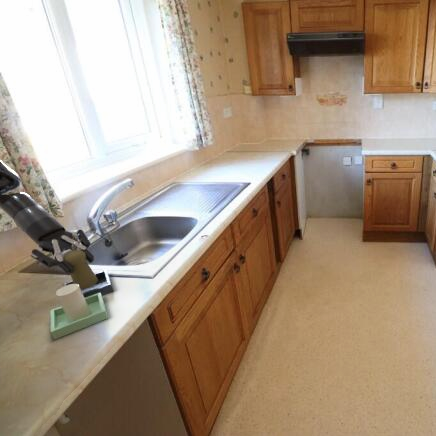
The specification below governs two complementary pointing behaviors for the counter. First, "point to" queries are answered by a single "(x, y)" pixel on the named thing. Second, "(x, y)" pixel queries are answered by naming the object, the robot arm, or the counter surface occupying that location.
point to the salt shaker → (73, 302)
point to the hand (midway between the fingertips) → (82, 266)
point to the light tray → (64, 327)
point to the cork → (80, 269)
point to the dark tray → (98, 285)
